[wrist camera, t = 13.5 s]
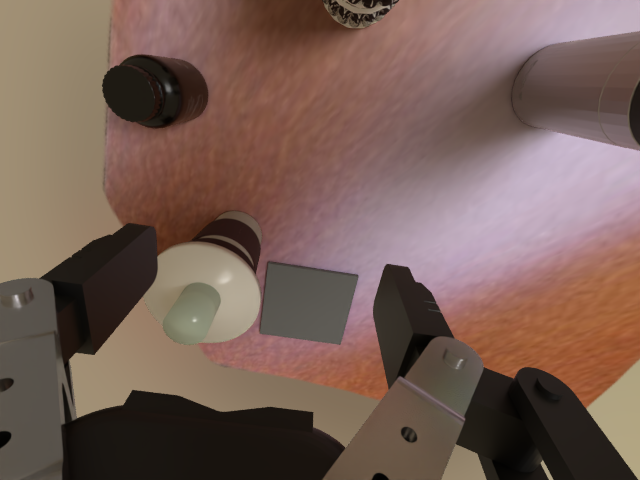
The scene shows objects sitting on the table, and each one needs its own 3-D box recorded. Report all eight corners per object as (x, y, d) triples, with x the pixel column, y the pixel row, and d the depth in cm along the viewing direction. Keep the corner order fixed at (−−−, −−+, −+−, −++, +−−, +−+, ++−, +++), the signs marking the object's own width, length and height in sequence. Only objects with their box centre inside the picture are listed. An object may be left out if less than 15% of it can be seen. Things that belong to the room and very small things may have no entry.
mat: (357, 274, 52) (358, 277, 51) (340, 342, 58) (340, 344, 57) (268, 261, 51) (268, 263, 50) (260, 331, 57) (259, 333, 56)
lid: (266, 251, 33) (256, 283, 28) (256, 342, 38) (245, 382, 33) (144, 232, 32) (110, 261, 27) (150, 327, 37) (123, 366, 32)
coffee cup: (273, 262, 51) (254, 328, 37) (208, 261, 51) (167, 327, 37) (269, 201, 46) (247, 251, 33) (199, 200, 47) (148, 249, 33)
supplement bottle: (189, 48, 38) (137, 36, 28) (220, 106, 41) (183, 115, 30) (141, 74, 40) (73, 72, 29) (173, 129, 42) (122, 146, 32)
